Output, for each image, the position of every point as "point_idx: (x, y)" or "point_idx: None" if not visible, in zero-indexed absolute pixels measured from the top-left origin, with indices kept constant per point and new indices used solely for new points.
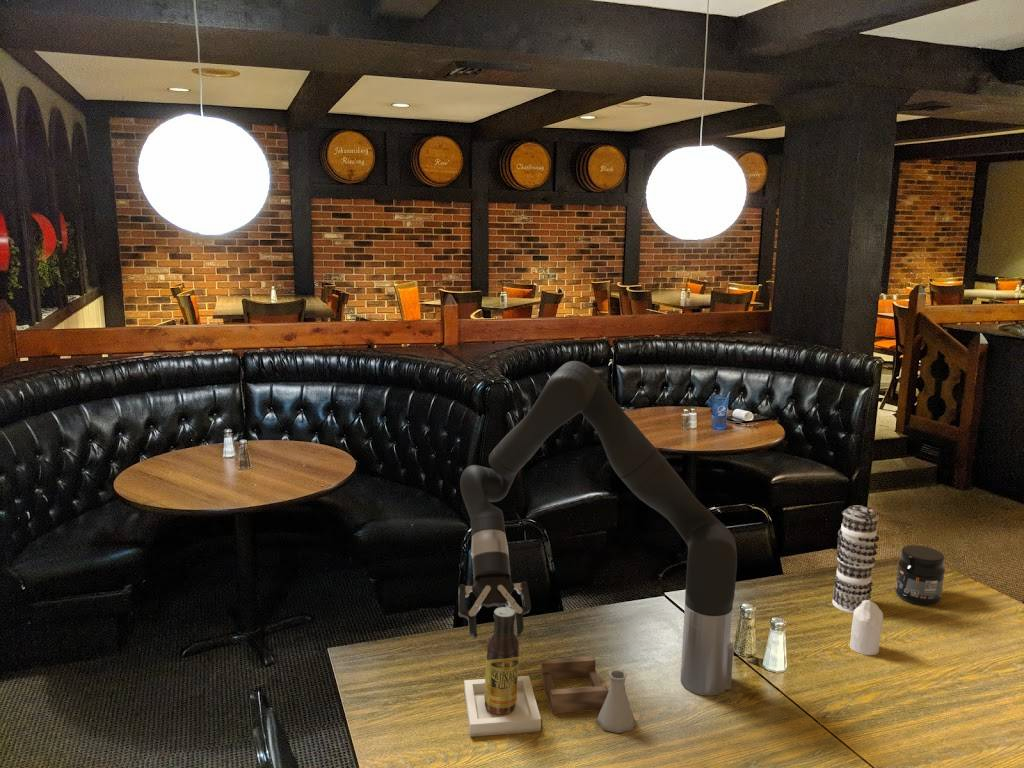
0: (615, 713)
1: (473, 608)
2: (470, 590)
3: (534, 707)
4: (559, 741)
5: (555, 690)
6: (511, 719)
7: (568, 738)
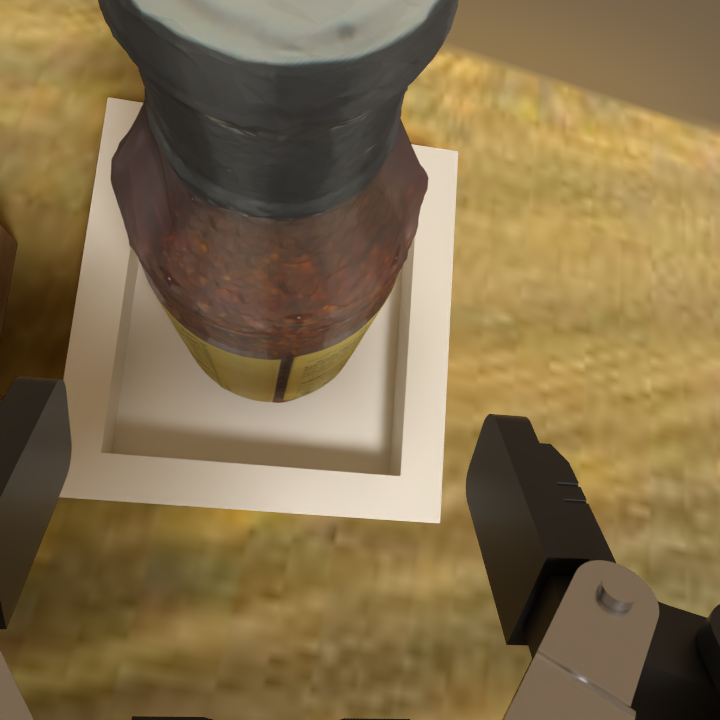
0: None
1: (613, 656)
2: None
3: (110, 193)
4: (55, 46)
5: None
6: None
7: (5, 53)
